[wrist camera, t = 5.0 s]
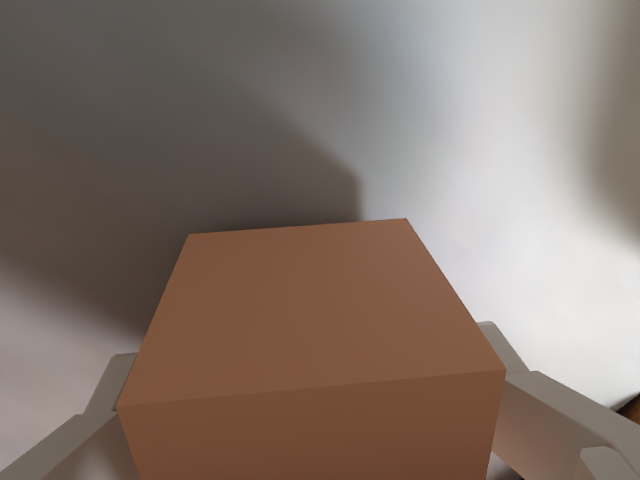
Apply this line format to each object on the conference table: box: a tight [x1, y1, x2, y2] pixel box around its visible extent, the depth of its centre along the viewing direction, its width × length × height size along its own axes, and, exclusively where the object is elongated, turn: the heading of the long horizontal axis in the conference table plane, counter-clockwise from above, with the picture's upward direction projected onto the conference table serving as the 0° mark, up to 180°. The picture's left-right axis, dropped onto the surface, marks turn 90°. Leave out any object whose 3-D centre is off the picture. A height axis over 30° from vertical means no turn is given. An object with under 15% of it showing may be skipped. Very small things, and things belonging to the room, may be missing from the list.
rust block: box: [115, 218, 507, 480], centre depth 9 cm, size 5×5×5 cm
